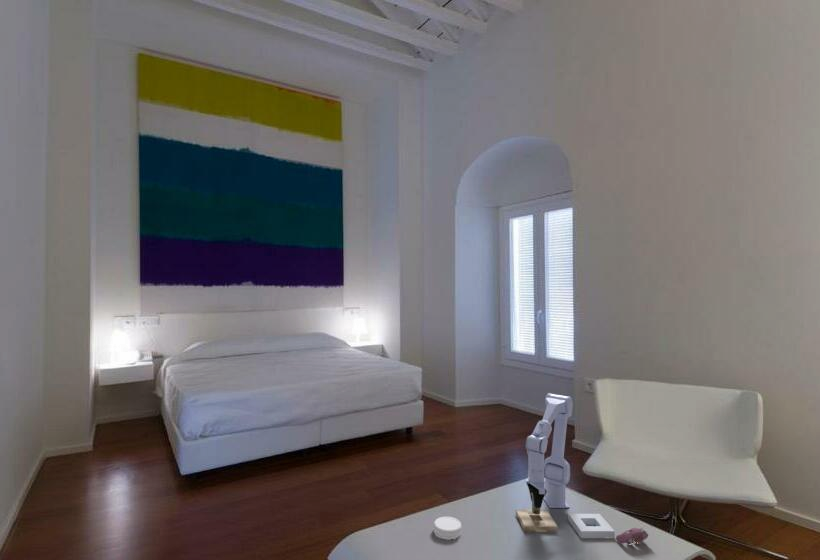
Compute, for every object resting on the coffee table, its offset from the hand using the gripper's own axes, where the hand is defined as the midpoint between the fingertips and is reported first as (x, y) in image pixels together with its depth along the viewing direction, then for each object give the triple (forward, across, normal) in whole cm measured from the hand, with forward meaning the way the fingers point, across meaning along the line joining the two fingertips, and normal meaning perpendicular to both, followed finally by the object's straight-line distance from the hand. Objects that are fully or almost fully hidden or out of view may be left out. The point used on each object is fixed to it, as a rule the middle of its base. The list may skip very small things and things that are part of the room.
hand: (536, 504), depth 165 cm
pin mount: (+7, 0, 0) cm, 7 cm away
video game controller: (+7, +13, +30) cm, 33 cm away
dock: (+7, +4, +19) cm, 21 cm away
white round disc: (+7, +6, -34) cm, 35 cm away
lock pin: (+3, 0, 0) cm, 3 cm away
